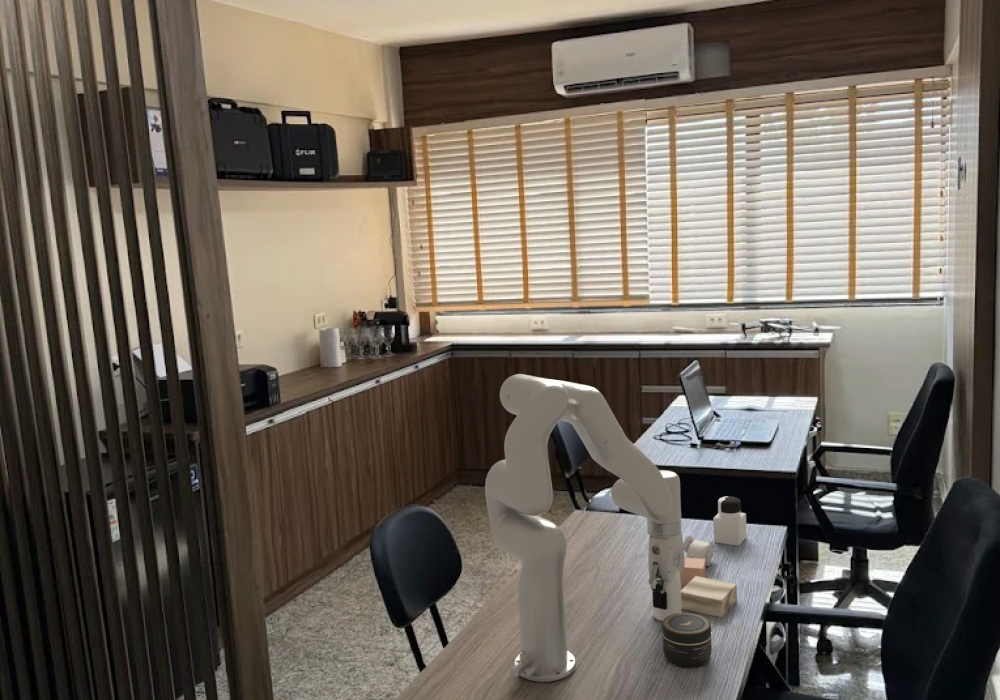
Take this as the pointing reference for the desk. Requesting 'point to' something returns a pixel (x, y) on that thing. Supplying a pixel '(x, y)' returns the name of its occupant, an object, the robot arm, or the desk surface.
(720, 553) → the desk surface
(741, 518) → the medicine bottle
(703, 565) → the terracotta block
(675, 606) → the can
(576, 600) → the desk surface
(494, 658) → the desk surface
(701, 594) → the birch block
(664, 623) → the jar
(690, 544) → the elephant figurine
